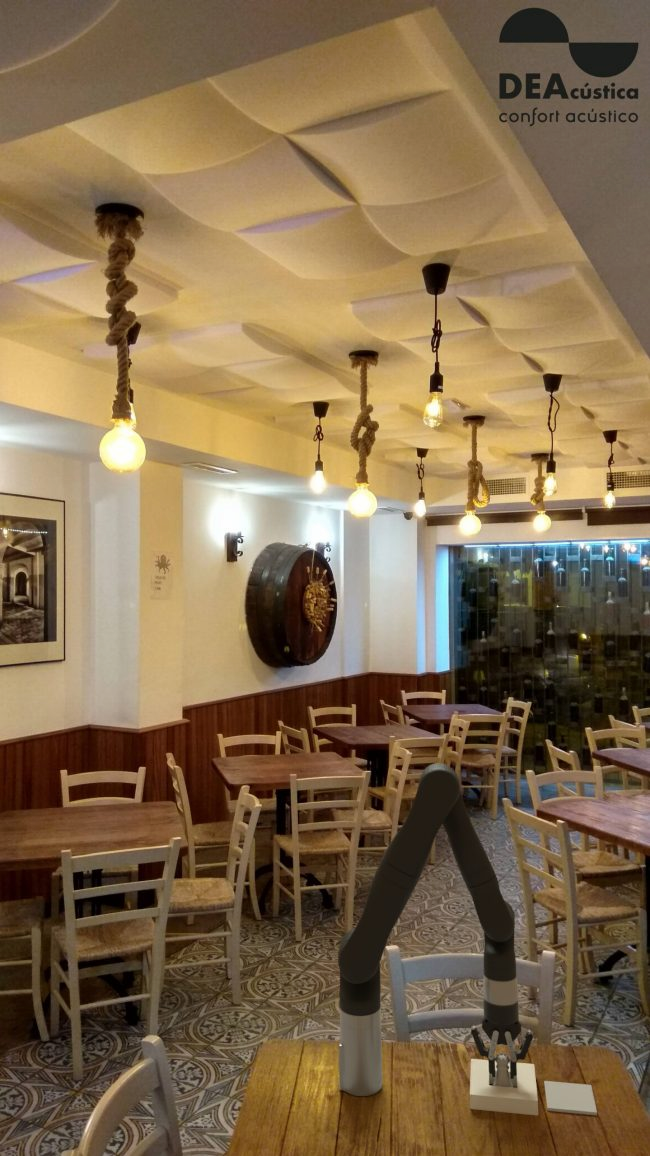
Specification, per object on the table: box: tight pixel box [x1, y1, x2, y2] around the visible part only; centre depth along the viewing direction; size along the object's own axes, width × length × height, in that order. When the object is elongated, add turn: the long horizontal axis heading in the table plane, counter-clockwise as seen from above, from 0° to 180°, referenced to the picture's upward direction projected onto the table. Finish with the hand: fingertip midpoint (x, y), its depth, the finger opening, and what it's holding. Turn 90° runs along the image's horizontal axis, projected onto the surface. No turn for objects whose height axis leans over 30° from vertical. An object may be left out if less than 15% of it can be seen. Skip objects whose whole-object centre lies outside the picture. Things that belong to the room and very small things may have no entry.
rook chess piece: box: [492, 1052, 514, 1088], centre depth 179 cm, size 4×4×8 cm
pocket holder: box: [469, 1058, 539, 1116], centre depth 179 cm, size 14×14×3 cm
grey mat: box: [543, 1080, 598, 1116], centre depth 176 cm, size 10×10×1 cm
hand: (502, 1075), depth 179 cm, fingers closed on rook chess piece, 3 cm apart
